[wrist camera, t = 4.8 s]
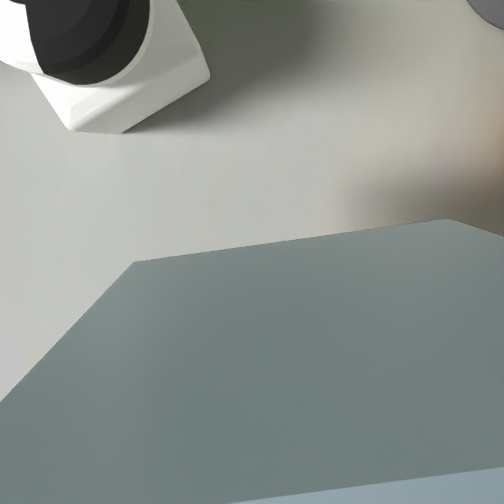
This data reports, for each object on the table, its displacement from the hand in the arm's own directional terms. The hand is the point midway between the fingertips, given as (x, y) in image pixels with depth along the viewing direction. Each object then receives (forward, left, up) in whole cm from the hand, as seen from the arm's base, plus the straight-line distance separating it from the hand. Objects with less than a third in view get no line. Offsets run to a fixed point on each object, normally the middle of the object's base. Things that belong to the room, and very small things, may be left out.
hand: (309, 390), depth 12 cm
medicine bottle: (-14, -6, -15) cm, 22 cm away
